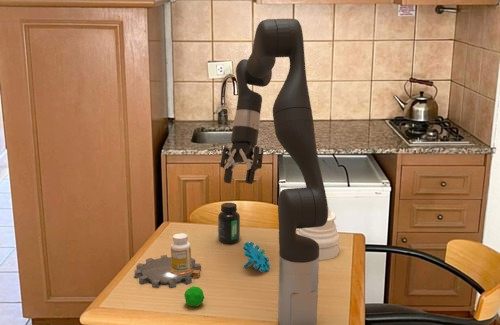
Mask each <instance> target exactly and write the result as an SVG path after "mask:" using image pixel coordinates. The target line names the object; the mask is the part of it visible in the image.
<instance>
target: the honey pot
mask: <svg viewBox="0 0 500 325" xmlns="http://www.w3.org/2000/svg"><path fill="white" fill-rule="evenodd" d="M336 219H337V215H336V213H334V212H332V211H331V210H330V208H329V207H328V219H327V222H326V224H325V225H324V226H321V227H312V228H301V229H298V231H297V232H296V234H298V235H301V236H304V237H308V238H311V239H313V240H315V241H316V242H317V243H318V245H319V261H323V260H324V261H325V260H330V259H331V260H332V259H333V258H336V257H337V256H339V250H340V236H339V232H338V229H337V225H336V223H335V220H336Z"/></svg>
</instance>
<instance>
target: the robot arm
mask: <svg viewBox="0 0 500 325" xmlns="http://www.w3.org/2000/svg"><path fill="white" fill-rule="evenodd" d="M304 44H305V43H304V35H303V28H302V25H301V23H300V21H299V20H298V19H296V18H268V19H262V20H261V21H260V22H259V23H258V24H257V27H256V30H255V34H254V39H253V44H252V50H251V54H250V55H249V57H248V59H246V58H245V59H241V60H239V62H238V63H237V65H236V68H235V78H236V84H237V103H236V104H237V105H236V108H235V109H236V111H235V115H234V118H233V122H232V123H233V126H232V131H231V137H230V142H231V144H232V145H231V147H230V148H229V147H225V146H224V147H223V149H222V154H221V158H220V163H219V166H220V167H221V168H222V169H224V175H223V181H224V182H223V183H226V184H231V183H232V178H233V170H234V169H235V167H236V166H238V165H239V164H243V163H244V164H245V165H246V167H247V170H246V175H245V183H246V184H247V185H253V183H254V181H255V175H256V174H255V173H256V171H257V170H261V169H262V168H263V167H262V166H263V158H264V148H263V147H261V146H257V145H258V137H259V131H260V125H261V111H262V103H263V96H262V95H261V94H260V93H258V92H257V91H254V90H252V89H251V88H249V86H248V85H250V86H255V87H259V88H260V87H261V88H263V87H267V86H268V85H269V84H270V82H271V81H272V76H273V68H274V66H276V58H288V59H289V69H288V73H287V76H286V78H285V80H284V83H283V85H282V87H281V88H280V91H279V92H278V94H277V95H276V98H275V101H274V103H273V105H272V106H273V107H272V117H273V126H274V127H273V128H274V132H275V136H276V137H275V138H276V139H277V141H278V142H279V144H280V145H281V147H283V149H284V150H285V152H287V154H288V155H289V156H290V157H291V158H292V160H293V161H294V162H295V164H296V165H297V167H298V168H299V170H300V172H301V174H302V176H303V180H304V183H305V187H296V188H295V187H293V188H292V187H291V188H284V189H282V190H281V191H280V192H279V196H278V199H277V215H278V216H277V217H278V218H277V220H278V246H279V247H278V249H279V250H278V251H279V252H278V253H279V254H278V255H279V257H278V258H279V259H278V264H279V265H278V298H277V299H278V300H277V301H278V304H277V305H278V306H277V307H278V310H277V312H278V313H277V314H278V315H277V316H278V317H277V321H278V324H279V325H317V323H318V298H319V297H318V296H319V295H318V293H319V269H320V267H319V266H320V260H319V245H318V243H317V242H316V241H315V240H313V239H311V238H308V237H304V236H301V235H298V234H297V230H299V229H301V228H312V227H321V226H324V225H325V224H326V222H327V219H328V208H329V206H328V205H329V204H328V199H327V193H326V189H325V185H324V179H323V176H322V170H321V166H320V162H319V156H318V150H317V142H316V132H315V124H314V118H313V111H312V110H313V109H312V105H311V99H310V93H309V87H308V80H307V72H306V57H305V45H304Z"/></svg>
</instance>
